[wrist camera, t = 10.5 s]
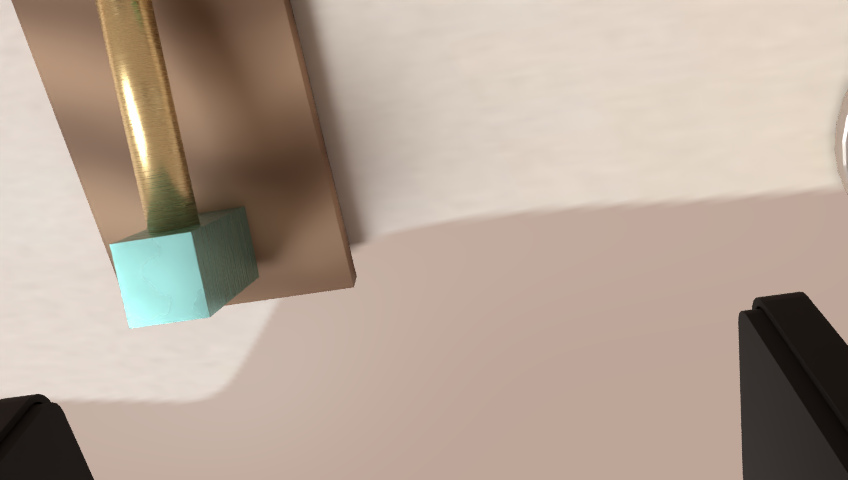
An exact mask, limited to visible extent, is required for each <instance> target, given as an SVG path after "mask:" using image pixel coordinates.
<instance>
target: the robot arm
mask: <svg viewBox="0 0 848 480" xmlns="http://www.w3.org/2000/svg"><path fill="white" fill-rule="evenodd" d="M835 154H836V161H837V168H838V173H839V175H840V178H841V180H842V183H843V185H844V188H845V190H846V193H847V194H848V90H847V92H846V94H845V96H844V98H843V102H842V105H841V109H840V113H839V116H838V120H837V124H836V137H835ZM738 325H739V355H740V356H739V360H740V394H741V429H742V460H743V461H742V463H743V480H848V345H847V344H846V343H845V342H844V340H843V339H842V338H841V337H840V336H839V334H838V333H837V332H836V331H835V329H834V328H833V327H832V326H831V324H830V323H829V322H828V321H827V319H826V318H825V317H824V316H823V315H822V313H821V312H820V311H819V310H818V308H817V307H816V306H815V305H814V304H813V303H812V301H811V300H810V299H809V297H808V296H807V295H806V294H805V293H803V292H795V293H787V294H781V295H772V296H766V297H758V298H755V300H754V301H753V305H752V310H745V311H741V312H740V313H739V321H738ZM0 480H94V479H93V477H92V474H91V472H90V470H89V468H88V466H87V463H86V461H85V459H84V456H83V454H82V452H81V450H80V447H79V445H78V443H77V441H76V439H75V436H74V434H73V432H72V430H71V427H70V425H69V423H68V421H67V419H66V416H65V414H64V412H63V410H62V409H61V407H60V406H59V405H58V404H57V403H53V402H52V403H51V402H50V400H49V399H48V398H47V397H45V396H44V395H40V394H35V395H27V396H20V397H12V398H5V399H1V400H0Z"/></svg>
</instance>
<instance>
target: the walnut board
mask: <svg viewBox="0 0 848 480" xmlns="http://www.w3.org/2000/svg"><path fill="white" fill-rule="evenodd" d="M12 3H13V6H14V8H15V11H16V13H17V16H18V19H19V21H20V24H21V27H22V29H23V32H24V34H25V37H26V40H27V42H28V45H29V48H30V50H31V53H32V56H33V58H34V61H35V63H36V66H37V69H38V71H39V74H40V77H41V79H42V82H43V84H44V87H45V90H46V92H47V95H48V98H49V100H50V103H51V105H52V108H53V111H54V113H55V116H56V119H57V121H58V124H59V127H60V129H61V132H62V134H63V137H64V140H65V142H66V145H67V148H68V150H69V153H70V155H71V158H72V161H73V163H74V166H75V169H76V171H77V174H78V177H79V179H80V182H81V184H82V187H83V190H84V192H85V195H86V198H87V200H88V203H89V205H90V208H91V211H92V213H93V216H94V219H95V221H96V224H97V227H98V229H99V232H100V234H101V237H102V240H103V242H104V245H105V248H106V250H107V253H108V255H109V258H110V261H111V263H112V266H113V269H114V271H115V274H116V270H115V265H114V261H113V257H112V253H111V249H110V244H112V243H114V242H117V241H119V240H122V239H124V238H126V237H129V236H131V235H134V234H136V233H139V232H141V231H144V230H146V229H147V225H146V221H145V217H144V212H143V208H142V204H141V199H140V195H139V191H138V186H137V182H136V177H135V173H134V169H133V164H132V160H131V156H130V151H129V147H128V143H127V138H126V134H125V129H124V125H123V121H122V116H121V112H120V108H119V103H118V99H117V94H116V90H115V86H114V81H113V77H112V73H111V68H110V64H109V60H108V55H107V51H106V46H105V42H104V38H103V33H102V29H101V25H100V20H99V16H98V12H97V7H96V3H95V0H12ZM152 4H153V9H154V13H155V18H156V23H157V27H158V32H159V36H160V41H161V46H162V50H163V55H164V59H165V64H166V69H167V73H168V78H169V82H170V87H171V92H172V96H173V101H174V106H175V110H176V115H177V119H178V124H179V129H180V133H181V138H182V142H183V147H184V152H185V156H186V161H187V165H188V170H189V175H190V179H191V184H192V188H193V193H194V198H195V202H196V207H197V212H198V213H204V212H211V211H217V210H223V209H230V208H236V207H243V206H245V209H246V214H247V219H248V224H249V228H250V233H251V238H252V243H253V248H254V253H255V257H256V262H257V267H258V272H259V278H257V279H256V280H255V281H254V282H253V283H251V284H250V285H249V286H248V287H246V288H245V289H244V290H243V291H241V292H240V293H239V294H238V295H237V296H235V297H234V298H233V299H232V300H230V301H229V302H228V303H227V304H225V305H232V304H239V303H246V302H254V301H261V300H268V299H275V298H282V297H289V296H296V295H303V294H310V293H317V292H324V291H331V290H338V289H345V288H351V287H354V284H355V280H356V272H355V268H354V264H353V260H352V256H351V251H350V247H349V243H348V239H347V235H346V231H345V227H344V223H343V218H342V214H341V210H340V206H339V202H338V198H337V194H336V189H335V185H334V181H333V177H332V173H331V169H330V165H329V161H328V156H327V152H326V148H325V144H324V140H323V136H322V132H321V127H320V123H319V119H318V115H317V111H316V107H315V103H314V99H313V94H312V90H311V86H310V82H309V78H308V74H307V70H306V65H305V61H304V57H303V53H302V49H301V45H300V41H299V37H298V32H297V28H296V24H295V20H294V16H293V12H292V8H291V3H290V0H152ZM116 277H117V274H116ZM117 279H118V278H117ZM225 305H224V306H225Z"/></svg>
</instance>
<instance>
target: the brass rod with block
mask: <svg viewBox="0 0 848 480" xmlns="http://www.w3.org/2000/svg"><path fill="white" fill-rule="evenodd" d="M95 3H96V7H97V12H98V16H99V20H100V25H101V29H102V33H103V38H104V42H105V46H106V51H107V55H108V60H109V64H110V68H111V73H112V77H113V81H114V86H115V90H116V94H117V99H118V103H119V108H120V112H121V116H122V121H123V125H124V129H125V134H126V138H127V143H128V147H129V151H130V156H131V160H132V164H133V169H134V173H135V177H136V182H137V186H138V191H139V195H140V199H141V204H142V208H143V212H144V217H145V221H146V225H147V229H146V230H144V231H141V232H139V233H136V234H134V235H131V236H129V237H126V238H124V239H122V240H119V241H117V242H114V243H112V244H110V249H111V253H112V257H113V261H114V265H115V270H116V274H117V278H118V282H119V286H120V291H121V295H122V299H123V303H124V307H125V312H126V316H127V320H128V324H129V328H137V327H144V326H151V325H158V324H165V323H172V322H179V321H187V320H194V319H201V318H208V317H211V316H212V315H213V314H214V313H216V312H217V311H218V310H219V309H221V308H222V307H223V306H224V305H225V304H227V303H228V302H229V301H230V300H232V299H233V298H234V297H235V296H237V295H238V294H239V293H240V292H241V291H243V290H244V289H245V288H246V287H248V286H249V285H250V284H251V283H253V282H254V281H255V280H256V279H257V278H259V272H258V267H257V262H256V257H255V253H254V248H253V243H252V238H251V233H250V228H249V224H248V219H247V214H246V209H245V206H243V207H236V208H230V209H223V210H217V211H211V212H204V213H198V212H197V207H196V202H195V198H194V193H193V188H192V184H191V179H190V175H189V170H188V165H187V161H186V156H185V152H184V147H183V142H182V138H181V133H180V129H179V124H178V119H177V115H176V110H175V106H174V101H173V96H172V92H171V87H170V82H169V78H168V73H167V69H166V64H165V59H164V55H163V50H162V46H161V41H160V36H159V32H158V27H157V23H156V18H155V13H154V9H153V4H152V0H95Z"/></svg>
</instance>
